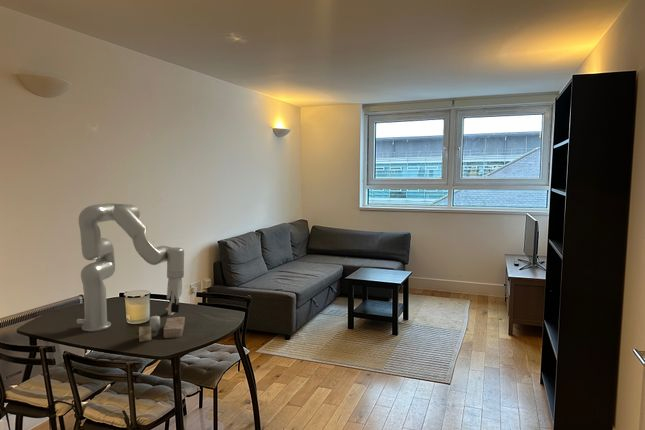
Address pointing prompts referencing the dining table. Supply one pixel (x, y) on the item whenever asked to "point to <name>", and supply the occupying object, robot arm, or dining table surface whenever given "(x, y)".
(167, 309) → the architectural model
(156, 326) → the grey cylinder
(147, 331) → the beech cube
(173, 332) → the brick
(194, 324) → the dining table surface
